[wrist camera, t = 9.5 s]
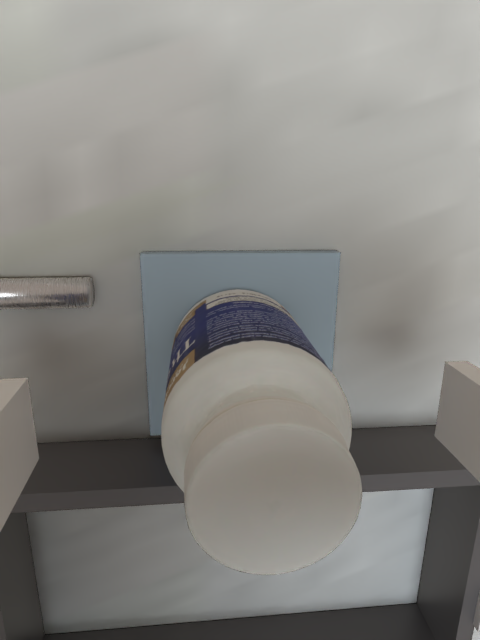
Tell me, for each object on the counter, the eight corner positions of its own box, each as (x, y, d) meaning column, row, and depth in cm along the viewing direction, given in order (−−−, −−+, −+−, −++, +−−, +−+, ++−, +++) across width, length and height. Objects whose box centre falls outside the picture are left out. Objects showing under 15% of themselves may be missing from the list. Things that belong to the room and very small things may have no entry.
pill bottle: (167, 289, 18) (139, 402, 9) (300, 283, 19) (403, 385, 9) (176, 410, 20) (159, 612, 11) (298, 402, 20) (384, 590, 11)
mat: (151, 428, 21) (150, 435, 20) (141, 251, 18) (140, 254, 18) (324, 421, 21) (328, 427, 21) (336, 250, 19) (340, 252, 18)
